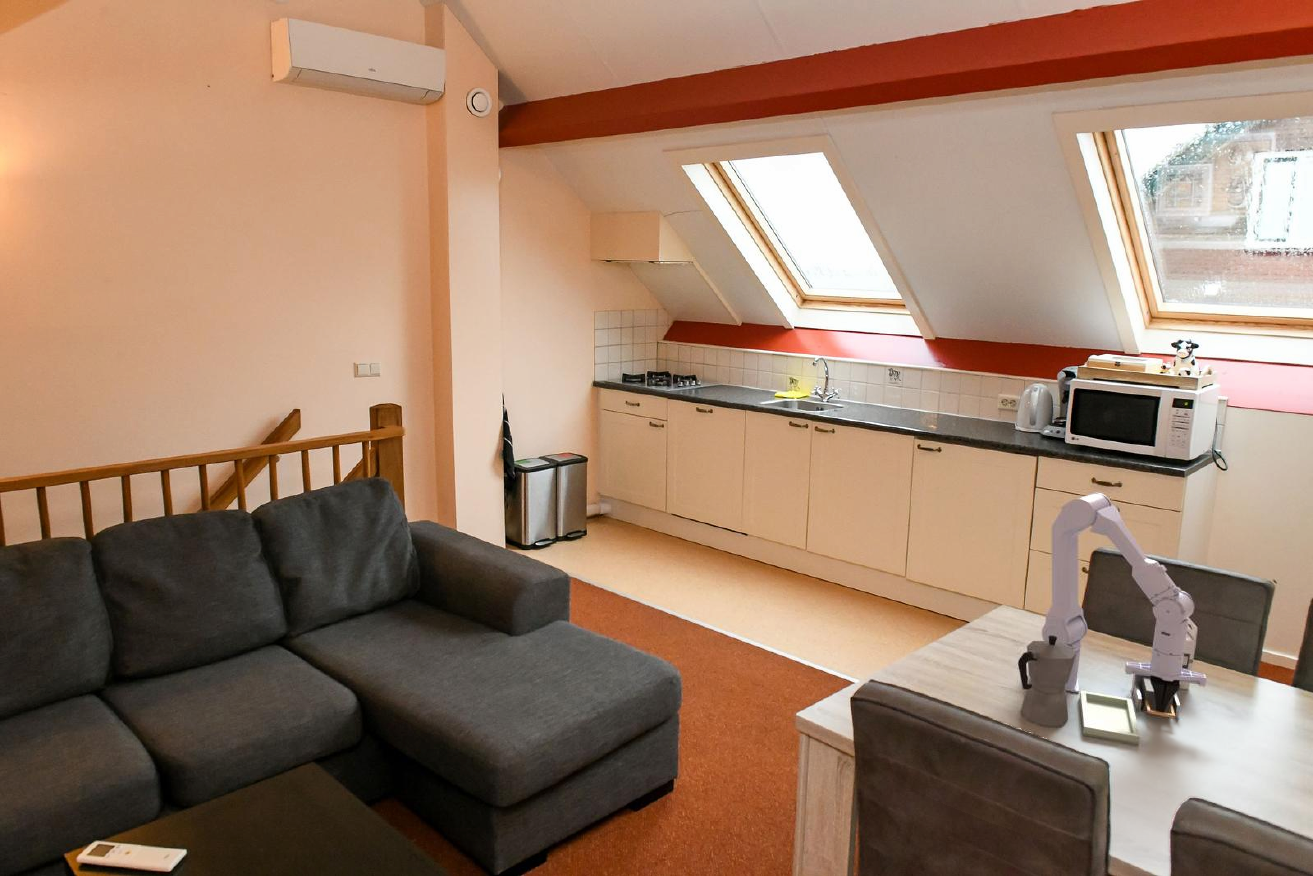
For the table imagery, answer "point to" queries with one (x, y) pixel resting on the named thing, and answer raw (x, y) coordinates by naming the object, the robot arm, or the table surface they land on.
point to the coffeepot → (1046, 681)
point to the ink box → (1189, 651)
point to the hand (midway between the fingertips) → (1159, 710)
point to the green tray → (1108, 718)
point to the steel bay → (1137, 698)
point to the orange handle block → (1153, 700)
